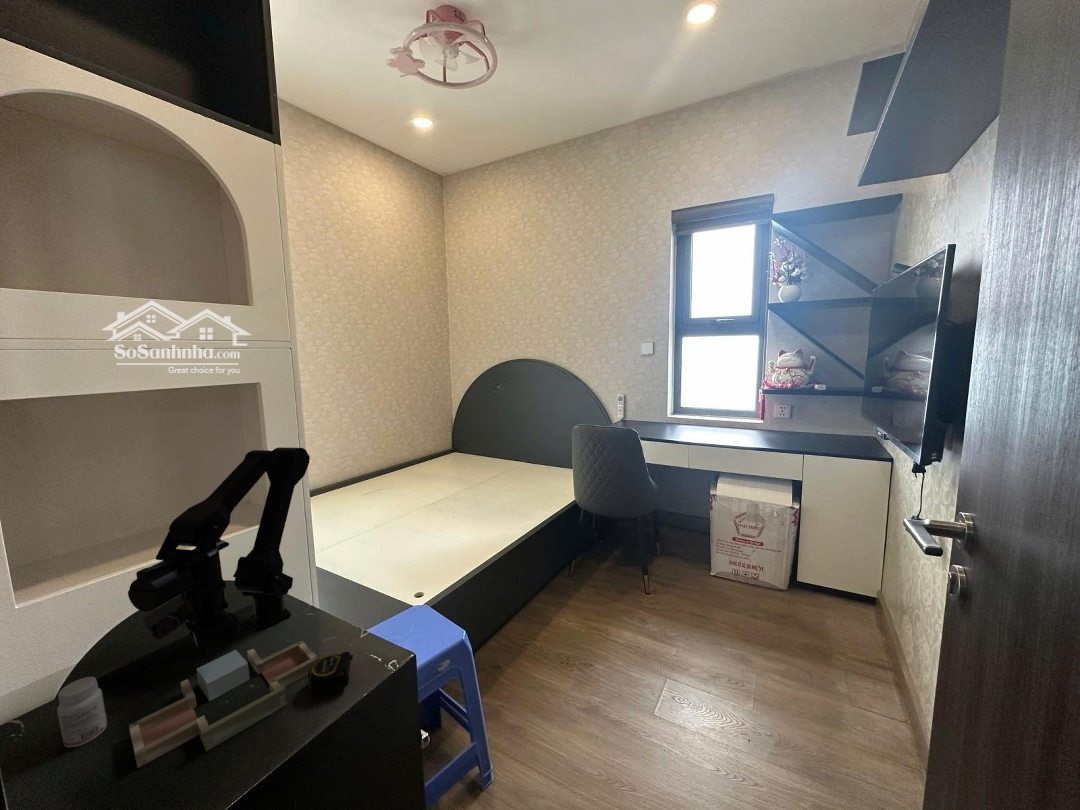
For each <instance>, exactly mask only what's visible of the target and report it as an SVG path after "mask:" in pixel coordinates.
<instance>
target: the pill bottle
mask: <svg viewBox="0 0 1080 810" xmlns="http://www.w3.org/2000/svg"><path fill="white" fill-rule="evenodd" d="M102 691H103V690H102V689H101V688H100V687H99V685H98V681H97V678H96V677H94V676H86V677H82V678H80V679H77V680H74V681H73V682H70V683H69V684H67V685H66V686H64V687H63V688H62V689H61V690H59V692H58V694H57V695H58V703H59V705H58V707H57V716H58V717H57V718H58V722H59V727H60V733H61V738H62V743H63V745H64V747H65V748H76V747H80V746H83V745H86V744H87V743H89V742H91V741H93V740H94V739H96V738H97V737H99V736H100V735H101V734H102V733H103V732H104V731H105V730H106V729H107V727H108V719H107V713H106V707H105V702H104V697H103V692H102Z"/></svg>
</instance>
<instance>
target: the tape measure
mask: <svg viewBox="0 0 1080 810" xmlns="http://www.w3.org/2000/svg"><path fill="white" fill-rule="evenodd" d="M353 656H354V654H351V653H350V652H349V651H345V652H342V653H340V654H338V653H337V654H329V655H326V656H323V657H322V658H320V659H319V660H318V661H317V662H315V663H314V664H313V666H312V667H311V669H310V671H309V674H308V675H307V679H308V680H307V681H308V687H309V689H310V691H311V692H312V693H314V694H316V695H329V694H331V693H334V692H336V691H338V690H342V689H344V688H346V687H348V685H349V683H350V681H349V680H350V671H351V661H352V660H353V659H354V657H353Z"/></svg>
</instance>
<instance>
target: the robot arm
mask: <svg viewBox="0 0 1080 810" xmlns="http://www.w3.org/2000/svg"><path fill="white" fill-rule="evenodd" d="M310 457H311V456H310V454H309V453H308V451H307V450H306V449H305V448H304V447H283V446H282V447H275V448H273V449H272V450H270V449H269V450H267V449H261V450H260V449H258V450H257V449H252V450H250V451H248V452H247V453H246V454H245V456H244V457H243V458H244V459H243V460H242V461H241V462H240V463H239V464H238V465H237V466H236V467H235V468H234V470H233V471H232V472H231V473H230V474H228V476H227V477H226V478H225V479H224V480H223V481H222V482H221V483H220V484H219V485H218V486H217V487H216V489H215V490H213V492H212V493H211V494H210V495H209V496H208V497H206V498H205V499H203V500H202V501H200V502H198V503H196V504H194V505H191V506H190V507H188V508H187V509H186V510H184V511H183V512H182V513H180V514H179V515H178V516H177V517H176V518H175V519H173V521H172V522H171V523H170V525H169V527H168V530H169V531H168V532H167V535H166V536H165V538H164V540H163V542H162V544H161V547H160V548H159V551H158V552H157V554H156V557H155V560H156V561H159V562H158V563H156V564H153V565H151V566H148V567H144V568H142V569H140V570H138V571H137V572H136V573H135V576H136V579H134V580H133V581H132V582H131V584H130V586H129V590H128V591H127V595H128V598H129V601H130V604H132V605H133V607H135V609H137V610H139V611H140V612H145V613H147V612H151V611H153V610H154V611H153V612H151V613H149V614H148V615H147V616H145V617H144V618H143V623H144V626H145V628H146V629H147V630H148V632H149V633H150V634H151V636H152V637H154V639H155V640H158V641H159V640H162V639H163V638H165V637H166V636H168V635H169V634H171V633H172V632H174V631H175V630H177V629H178V628H179V627H180V626H181V625H182V624H184V625H185V627H186V628H187V630H189V635H190V636H191V638H192V639H193V641H194V643H195V646H196V648H197V649H198V650H204V649H205V651H206V653H207V656H208V657H209V658H210V659H211V658H213V657H215V656H217V655H218V652H219V649H220V648H221V645H222V643H223V641H225V640H226V639H227V640H228V639H230V638H231V637H234V636H236V635H238V634H240V632H241V631H242V629H241V622H240V620H239V618H238V617H237V615H235V614H233V613H231V612H227V611H226V610H225V609H228V608H229V602H228V600H227V599H226V597H225V596H226V595H225V588H227V584H226V581H225V580H224V579H223V572H222V565H221V557H220V556H221V555H220V551H222V550H223V549H225V548H228V547H229V545H230V542H227V541H225V540H222V539H221V537H222V536H223V535H224V533H225V531H226V530H227V528H228V527H229V525H230V523H231V515H232V513H233V511H234V509H235V508H236V507H237V506H238V505H239V504H240V502H241V501H242V500H243V499H244V498H245V496H246V495H247V494H248V493H249V492H250V491H251V489H252V488H253V487H254V486H255V485H256V484H257V483H258V482H259V481H260V479H261V478H262V477H263V476H264V475H265V473H266V475H267V477H268V481H269V487H268V491H267V495H266V499H265V503H264V507H263V511H262V513H261V517H260V522H259V524H258V528H257V533H256V537H255V540H254V543H253V548H252V549H251V550H250V552H249V553H247V555H246V556H240V557H239V558H238V560H237V565H236V569H235V571H234V574H233V576H232V577H233V578H234V583H233V584H234V587H236V589H237V591H238V592H240V593H241V595H242V596H243V597H252V603H253V613H254V614H253V615H251V616H249V620H250V621H251V623H252V624H253V623H254V624H253V625H254V626H255V628H258V629H260V630H263V629H265V628H267V627H269V626H271V624H272V625H273V624H276V623H278V621H279V622H281V621H282V620H285V619H287V618H290V617H291V616H292V613H291V612H290V610H288V609H287V607H286V606H285V598H284V597H285V595H287V594H289V591H290V590H291V589H292V588H293V583H294V577H292V576H291V575H288V574H286V573H284V571H283V570H284V560H283V557H282V554H281V553H280V547H281V543H282V539H283V536H284V535H283V534H284V530H285V528H286V522H287V518H288V513H289V510H290V507H291V502H292V498H293V495H294V491H295V486H296V485H297V484H298V483H299V482H300V481H301V480H302V479H303V478H304V477H305V475H306V473H307V469H308V468H309V464H310V460H311V458H310ZM180 546H181V547H194V548H193V549H182V548H181V549H180V548H178V547H180ZM158 607H159V608H158ZM155 609H156V610H155ZM264 627H265V628H264ZM262 628H263V629H262ZM258 629H257V630H258Z"/></svg>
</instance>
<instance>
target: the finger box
mask: <svg viewBox="0 0 1080 810" xmlns="http://www.w3.org/2000/svg"><path fill="white" fill-rule="evenodd" d="M246 651H247V652H246V653H247V662H248V663H249V664H250V666H251V667H252V669H253V670H254V671H255V673H256V674H257V676H260V675H262V677H263V678H264V680H265V681H266V682H267V684H268V689H269V693H267V694H265V695H263V696H261V697H260V698H258V699H256V700H254V701H252V702H250V703H248V704H247V705H244V706H243V707H241V708H239V709H238V710H236V711H234V712H232V713H230V714H229V715H227V716H225V717H223V718H221V719H219V720H217V721H216V722H214V723H212V724H210V725H209V723H208V721H207V719H206V716H205V715H202V716H200V717H198V716H197V714H196V711H195V708H198V705H197V700H196V699H197V698H196V694H195V692H194V690H193V688H192V685H191V683H190V681H189V679H188V678H187V679H185V680H183V681H181V682H179V683H180V690H181V694H182V696H183V698H182V699H179V700H177V701H175V702H173V703H171V704H169V705H167V706H164V707H163V708H161V709H159V710H156V711H154V712H153V713H150V714H149V715H146V716H144V717H143V718H140V719H139V720H136V721H134V722H131V723H130V724H129V725H128V730H129V736H130V739H131V745H132V749H133V753H134V758H135V762H136V767H137V769H139V768H141V767H143V766H145V765H146V764H149V763H151V762H152V761H154V760H156V759H158V758H159V757H161V756H163V755H165V754H167V753H168V752H170V751H172V750H174V749H176V748H178V747H179V746H181V745H182V744H185V743H187V742H188V741H190V740H192V739H194V738H196V737H198V736H199V738H200V740H201V743H202V744H203V748H204V750H205V752H208V751H210V750H212V749H213V748H214V747H217V746H219V745H220V744H222V743H224V742H225V741H227V740H228V739H229V740H230V738H232V737H234V736H235V735H238V734H239V733H241V732H242V731H245V730H246V729H247V728H249V727H251V726H253V725H254V724H257V722H259V721H261V720H263V719H265V718H266V717H268V716H270V715H272V714H274V713H276V712H277V711H278V710H280V709H283V708H284V707H285V706H287V705H288V698H287V689H286V687H288V686H290V685H292V684H293V683H295V682H297V681H299V680H301V679H302V678H305V677H306V676H308V674H309V671H310V669H311V667H312V666H313V664H314V663H315V662H317V661H318V660H319V657H318V656H317V655H316V654H315V653H314V651H312V650H311V648H309V646H308V645H307V644H306V643H305V642H304V641H303V640H300V641H297V642H296V643H293V644H291V645H290V646H287V647H285V648H283V649H281V650H279V651H277V652H275V653H273V654H271V655H269V656H267V657H264V658H263V659H261V657H260V655H258V653H257V652H256V650H255V649H254V648H252V649H249V650H246Z"/></svg>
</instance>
